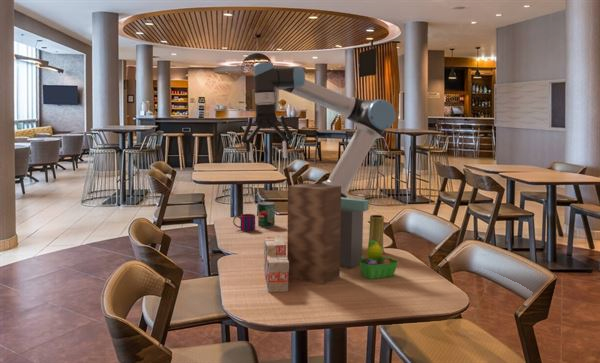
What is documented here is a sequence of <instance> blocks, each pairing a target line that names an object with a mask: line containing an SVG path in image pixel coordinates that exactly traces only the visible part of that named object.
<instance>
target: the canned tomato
mask: <svg viewBox="0 0 600 363" xmlns="http://www.w3.org/2000/svg"><path fill="white" fill-rule="evenodd" d="M275 208H276V206H275V202H274V201H259V202H257V221H258V222H257V223H258V224H257V226H258V227H259V226H261V228H271V227H270V226H274V225H275V221H276V220H275V214H276V213H275V212H276V211H275V210H276V209H275ZM274 227H275V226H274Z"/></svg>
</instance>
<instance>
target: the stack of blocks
mask: <svg viewBox="0 0 600 363" xmlns="http://www.w3.org/2000/svg"><path fill="white" fill-rule="evenodd" d="M263 245H264V246H263V254H264V255H263V257H264V259H263V260H264V261H263V271H264V279H265V282H266V289H267V292H268V293H273V292H274V293H281V292H289V261H288V258H287V245H286V242H285V240H284V237H283V236H267V237H266V236H265V237H263Z"/></svg>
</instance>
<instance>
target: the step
mask: <svg viewBox="0 0 600 363" xmlns="http://www.w3.org/2000/svg"><path fill="white" fill-rule="evenodd" d="M363 232H364V211H356V210H347V209H341V228H340V268H347V269H353V268H355V267H357V266H359V265H360V263H359V260H361V259H363V241H364V240H363V238H364V237H363V236H364V233H363Z"/></svg>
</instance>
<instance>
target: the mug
mask: <svg viewBox="0 0 600 363" xmlns="http://www.w3.org/2000/svg"><path fill="white" fill-rule="evenodd" d="M237 218H238V219H240V226H239V225H237V224H235V223H236V222H235V220H236V219H237ZM232 223H233V225H234V227H236V228H239V229H240V231H243V232H254V231H256V215H255V214H253V213H242V214H240V216H238V215H237V216H234V218H233V222H232Z"/></svg>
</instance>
